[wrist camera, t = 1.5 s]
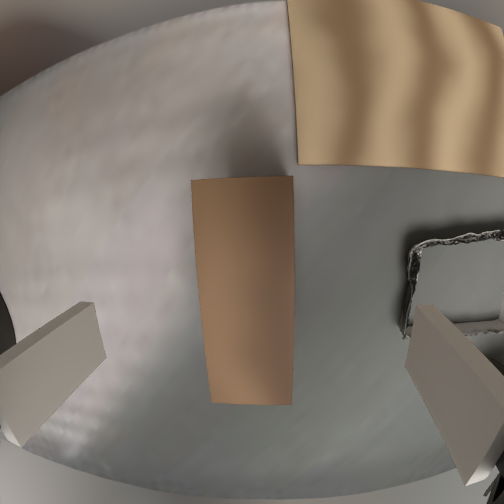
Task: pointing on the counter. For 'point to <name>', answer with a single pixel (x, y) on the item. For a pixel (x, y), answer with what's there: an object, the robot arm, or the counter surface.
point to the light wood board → (397, 86)
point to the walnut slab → (246, 286)
